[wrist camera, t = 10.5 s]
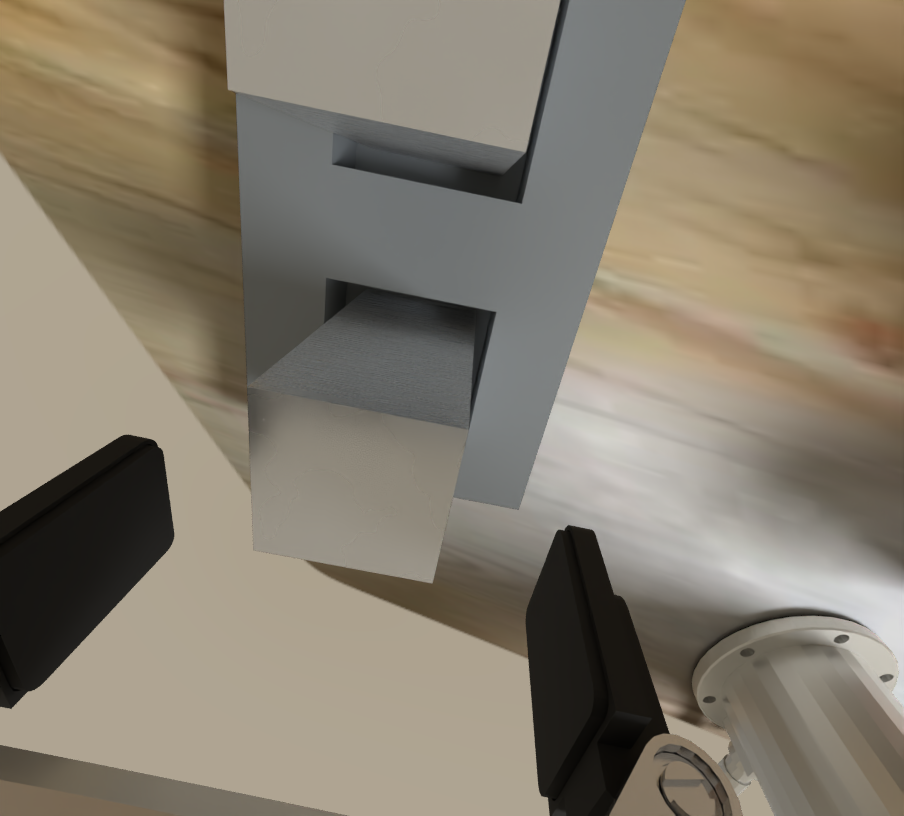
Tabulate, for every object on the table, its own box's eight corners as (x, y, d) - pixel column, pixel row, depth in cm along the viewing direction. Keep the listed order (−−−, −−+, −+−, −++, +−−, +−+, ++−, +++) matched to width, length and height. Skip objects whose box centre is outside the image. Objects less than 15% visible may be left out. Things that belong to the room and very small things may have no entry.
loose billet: (455, 406, 22) (432, 583, 12) (358, 387, 22) (253, 550, 12) (476, 310, 19) (468, 430, 10) (367, 288, 19) (247, 386, 9)
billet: (501, 176, 17) (525, 151, 7) (377, 150, 17) (227, 89, 7) (535, 13, 15) (638, -350, 5) (391, -18, 15) (203, -456, 5)
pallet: (513, 462, 24) (518, 509, 21) (284, 418, 24) (250, 458, 20) (676, -78, 14) (741, -170, 11) (288, -166, 14) (220, -291, 10)
